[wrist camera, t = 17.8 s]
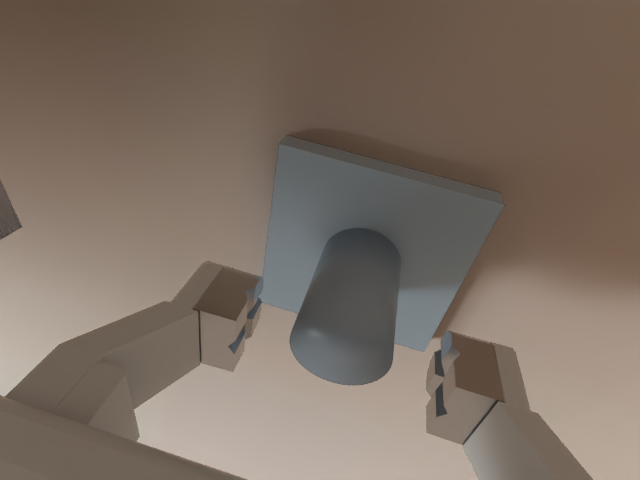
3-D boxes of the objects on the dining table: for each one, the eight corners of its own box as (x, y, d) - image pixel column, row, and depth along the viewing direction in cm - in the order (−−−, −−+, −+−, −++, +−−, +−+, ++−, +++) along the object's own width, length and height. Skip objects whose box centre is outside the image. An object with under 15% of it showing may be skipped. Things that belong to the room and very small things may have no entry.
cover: (268, 283, 14) (215, 385, 11) (289, 131, 11) (220, 206, 7) (424, 330, 14) (423, 453, 10) (498, 187, 10) (538, 297, 7)
